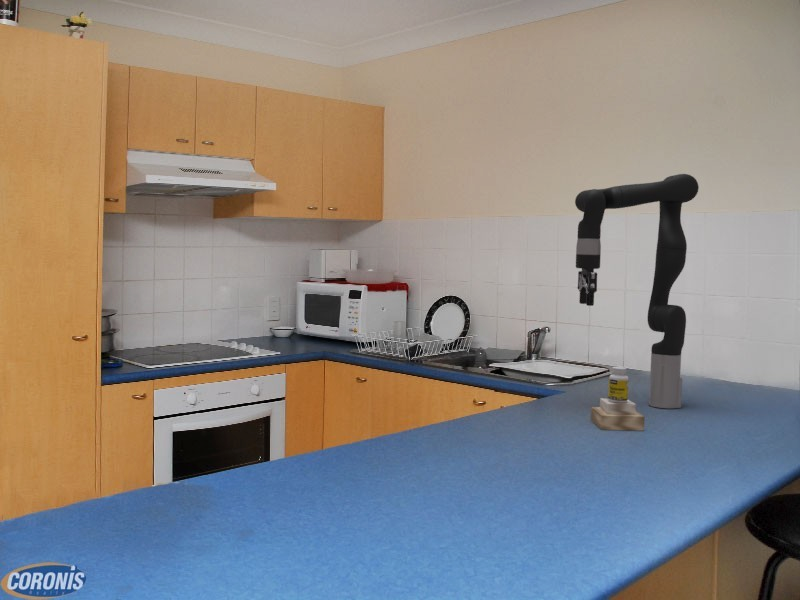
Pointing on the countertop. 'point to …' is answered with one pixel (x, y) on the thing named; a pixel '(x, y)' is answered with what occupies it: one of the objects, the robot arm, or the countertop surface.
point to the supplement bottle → (618, 385)
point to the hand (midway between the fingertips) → (586, 304)
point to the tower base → (617, 416)
